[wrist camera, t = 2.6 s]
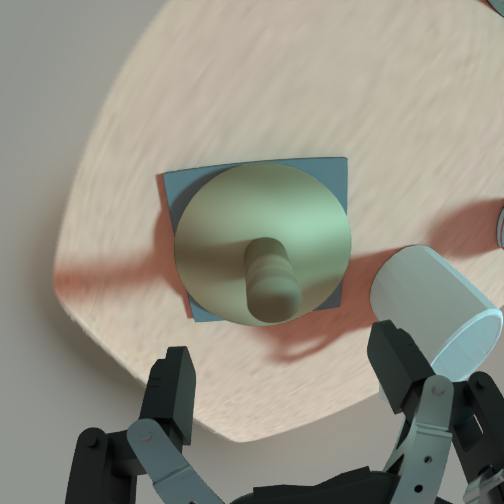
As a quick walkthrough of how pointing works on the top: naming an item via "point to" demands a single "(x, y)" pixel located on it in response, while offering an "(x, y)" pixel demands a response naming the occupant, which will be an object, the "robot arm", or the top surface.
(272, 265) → the lid
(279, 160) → the mat
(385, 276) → the mug
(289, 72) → the top surface
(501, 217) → the pill bottle
